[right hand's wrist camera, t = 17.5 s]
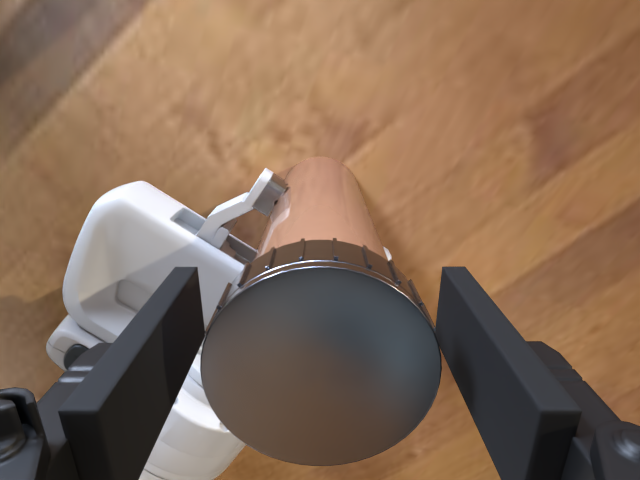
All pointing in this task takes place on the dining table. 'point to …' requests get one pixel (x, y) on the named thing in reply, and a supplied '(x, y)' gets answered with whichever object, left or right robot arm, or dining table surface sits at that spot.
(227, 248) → the left robot arm
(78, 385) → the right robot arm
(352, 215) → the brown cylinder
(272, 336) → the lid
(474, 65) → the dining table surface
